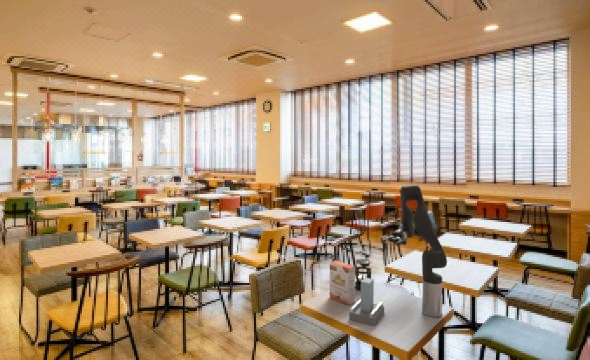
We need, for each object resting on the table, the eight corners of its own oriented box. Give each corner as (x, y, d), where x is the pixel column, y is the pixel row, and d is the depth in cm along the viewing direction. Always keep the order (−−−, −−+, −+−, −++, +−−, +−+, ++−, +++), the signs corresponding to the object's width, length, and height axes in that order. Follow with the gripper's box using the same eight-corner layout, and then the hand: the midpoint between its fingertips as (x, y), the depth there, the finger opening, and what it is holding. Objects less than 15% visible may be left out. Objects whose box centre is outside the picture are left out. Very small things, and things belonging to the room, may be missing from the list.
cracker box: (329, 297, 200) (329, 262, 198) (336, 294, 204) (336, 259, 202) (348, 305, 190) (348, 268, 188) (355, 302, 194) (355, 265, 192)
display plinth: (384, 313, 180) (384, 302, 180) (374, 326, 168) (374, 314, 167) (360, 307, 187) (360, 296, 187) (349, 319, 175) (349, 308, 174)
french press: (361, 292, 206) (362, 255, 204) (350, 287, 214) (350, 251, 212) (375, 288, 213) (376, 251, 210) (364, 283, 220) (364, 247, 218)
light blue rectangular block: (373, 307, 179) (373, 279, 177) (369, 312, 173) (369, 283, 172) (364, 305, 181) (365, 277, 179) (360, 310, 176) (360, 281, 174)
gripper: (386, 229, 213) (378, 235, 199) (410, 232, 205) (403, 238, 191) (386, 241, 213) (377, 247, 200) (410, 244, 206) (402, 251, 192)
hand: (390, 243), depth 196 cm, fingers open, 8 cm apart
